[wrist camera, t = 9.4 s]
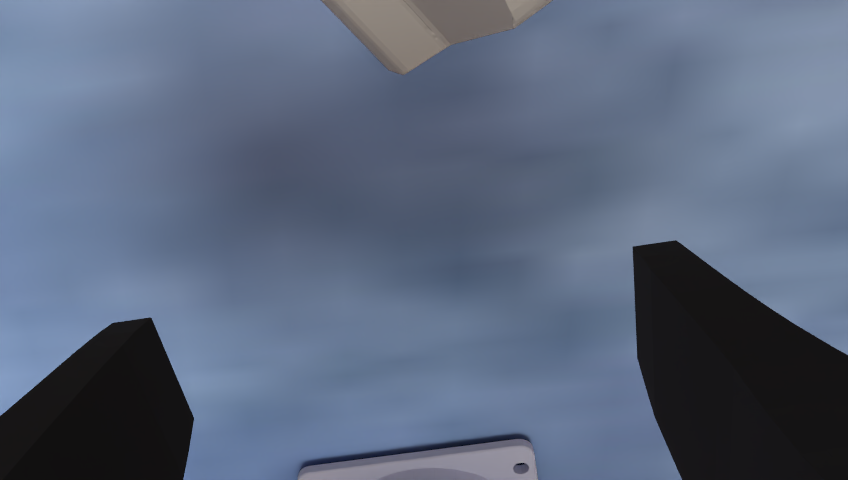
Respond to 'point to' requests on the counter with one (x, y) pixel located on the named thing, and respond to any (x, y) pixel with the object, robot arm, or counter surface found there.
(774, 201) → the counter surface
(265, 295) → the counter surface
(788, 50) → the counter surface
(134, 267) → the counter surface
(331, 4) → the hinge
